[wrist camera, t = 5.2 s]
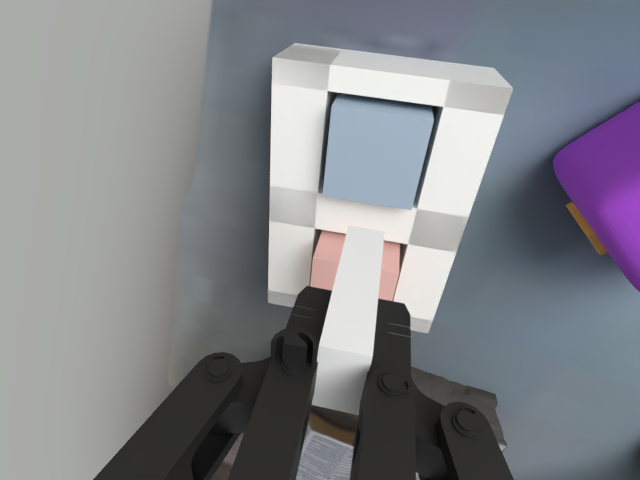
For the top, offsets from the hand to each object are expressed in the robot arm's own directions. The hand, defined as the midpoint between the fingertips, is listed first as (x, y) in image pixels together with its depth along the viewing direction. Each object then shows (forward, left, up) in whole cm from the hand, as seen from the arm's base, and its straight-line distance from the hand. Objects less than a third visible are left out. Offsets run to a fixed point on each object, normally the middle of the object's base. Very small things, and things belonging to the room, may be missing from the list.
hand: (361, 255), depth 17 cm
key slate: (0, 0, -14) cm, 14 cm away
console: (-5, 0, -17) cm, 18 cm away
